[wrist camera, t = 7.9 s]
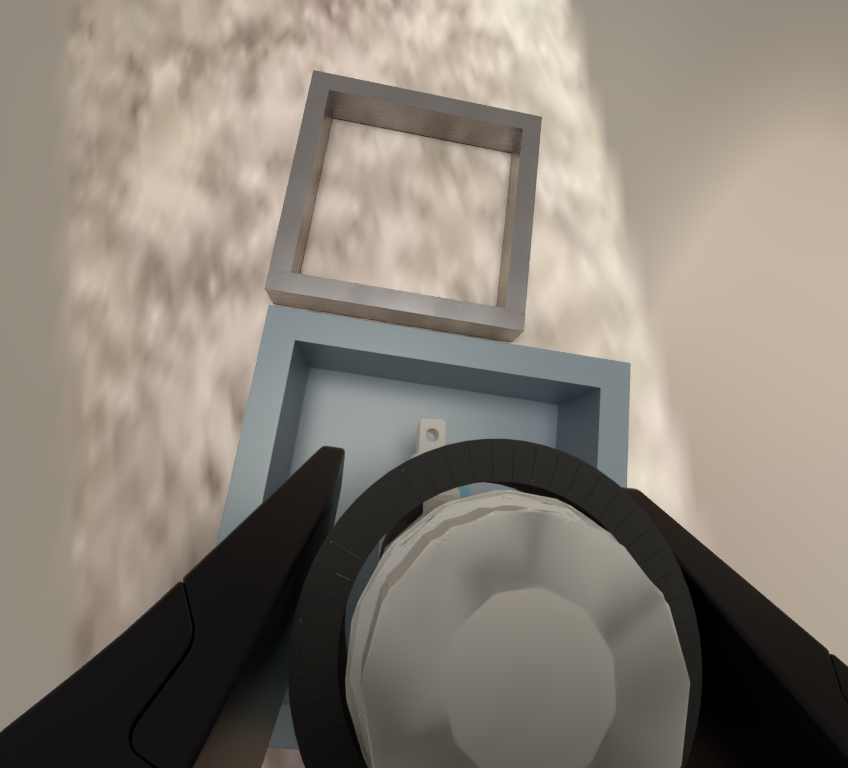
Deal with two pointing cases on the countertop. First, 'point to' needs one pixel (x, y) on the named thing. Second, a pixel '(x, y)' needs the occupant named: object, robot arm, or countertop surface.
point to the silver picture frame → (423, 118)
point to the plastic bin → (409, 412)
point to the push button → (495, 621)
